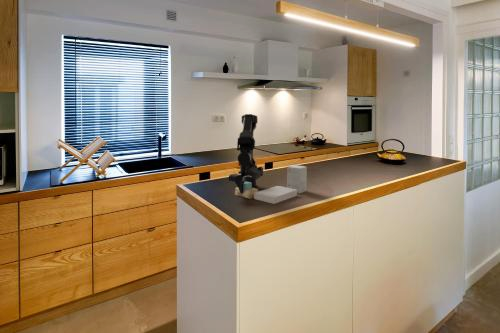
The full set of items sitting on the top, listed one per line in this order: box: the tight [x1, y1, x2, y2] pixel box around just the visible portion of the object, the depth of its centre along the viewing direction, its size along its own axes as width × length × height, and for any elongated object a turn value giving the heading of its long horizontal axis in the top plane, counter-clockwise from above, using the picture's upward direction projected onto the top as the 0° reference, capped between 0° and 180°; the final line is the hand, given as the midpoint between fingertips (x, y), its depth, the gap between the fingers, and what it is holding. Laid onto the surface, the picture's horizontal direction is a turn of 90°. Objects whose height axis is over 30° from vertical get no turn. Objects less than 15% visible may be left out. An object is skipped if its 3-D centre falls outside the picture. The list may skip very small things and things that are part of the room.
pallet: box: [234, 186, 259, 200], centre depth 156 cm, size 10×6×4 cm, turn 47°
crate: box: [243, 181, 252, 190], centre depth 156 cm, size 4×4×3 cm
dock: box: [253, 185, 298, 205], centre depth 153 cm, size 12×18×3 cm
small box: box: [286, 164, 308, 194], centre depth 163 cm, size 8×6×13 cm
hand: (246, 192), depth 156 cm, fingers closed on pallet, 6 cm apart
